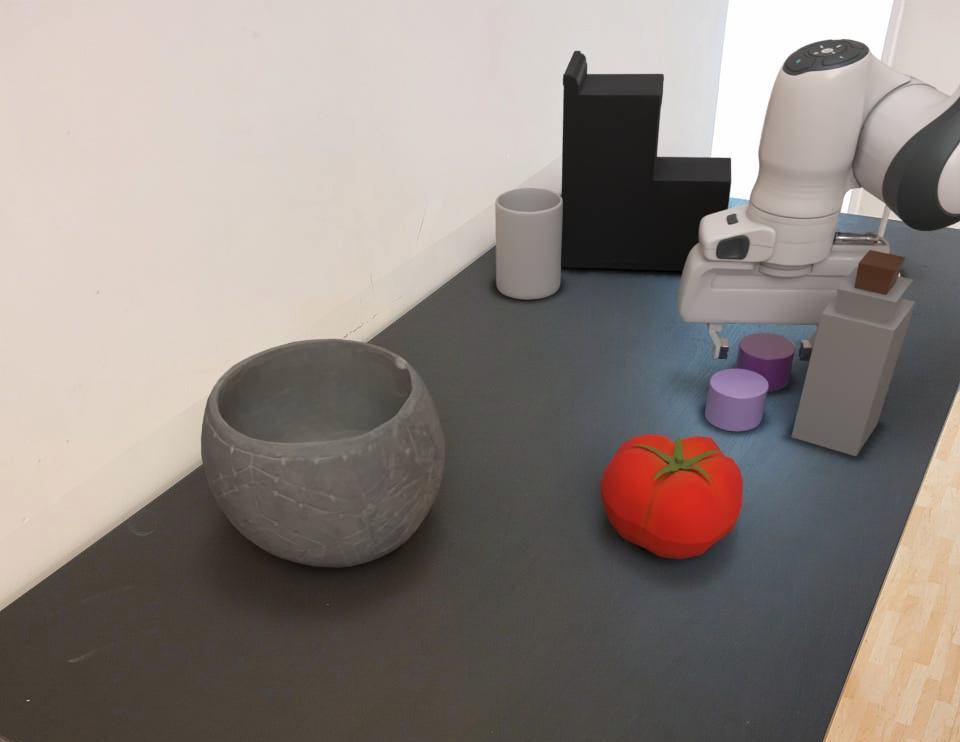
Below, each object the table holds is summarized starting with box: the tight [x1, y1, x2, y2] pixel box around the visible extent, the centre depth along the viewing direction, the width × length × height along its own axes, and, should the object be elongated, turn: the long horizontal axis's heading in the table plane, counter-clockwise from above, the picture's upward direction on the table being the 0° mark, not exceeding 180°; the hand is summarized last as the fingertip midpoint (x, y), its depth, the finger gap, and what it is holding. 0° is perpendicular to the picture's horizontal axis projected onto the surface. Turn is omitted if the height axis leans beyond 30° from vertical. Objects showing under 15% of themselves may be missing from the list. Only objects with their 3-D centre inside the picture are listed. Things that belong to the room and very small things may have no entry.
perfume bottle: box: [791, 250, 916, 457], centre depth 91 cm, size 7×7×18 cm
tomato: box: [599, 433, 744, 560], centre depth 84 cm, size 14×13×9 cm
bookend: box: [560, 50, 732, 272], centre depth 120 cm, size 23×11×24 cm, turn 79°
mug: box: [494, 187, 563, 301], centre depth 121 cm, size 12×8×11 cm
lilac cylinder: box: [704, 368, 769, 432], centre depth 99 cm, size 6×6×4 cm
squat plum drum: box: [734, 332, 797, 393], centre depth 104 cm, size 6×6×4 cm
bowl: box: [200, 338, 447, 569], centre depth 83 cm, size 21×21×15 cm
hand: (762, 357), depth 104 cm, fingers open, 8 cm apart
